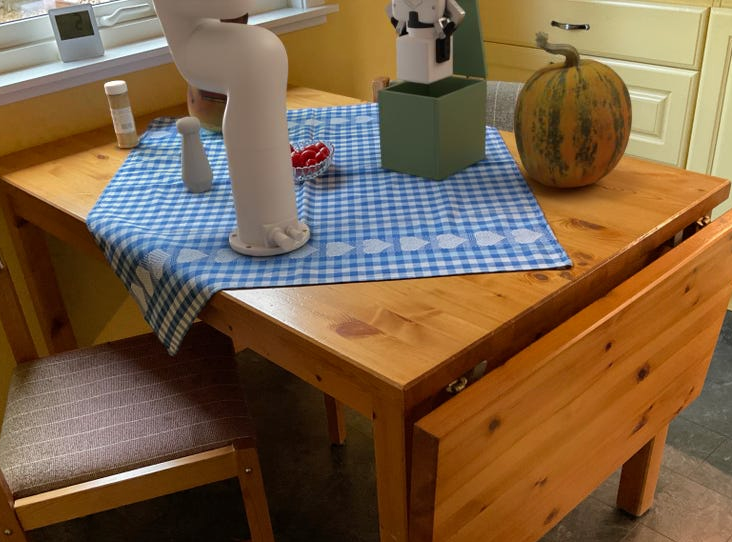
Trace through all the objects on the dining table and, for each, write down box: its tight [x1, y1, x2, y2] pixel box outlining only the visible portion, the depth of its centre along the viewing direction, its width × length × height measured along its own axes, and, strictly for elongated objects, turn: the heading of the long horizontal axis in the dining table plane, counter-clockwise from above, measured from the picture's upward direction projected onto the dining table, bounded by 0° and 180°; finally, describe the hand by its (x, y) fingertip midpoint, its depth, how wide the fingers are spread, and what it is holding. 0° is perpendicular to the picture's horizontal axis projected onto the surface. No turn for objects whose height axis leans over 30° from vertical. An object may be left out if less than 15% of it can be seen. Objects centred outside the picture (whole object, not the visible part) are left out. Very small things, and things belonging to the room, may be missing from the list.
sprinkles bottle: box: [103, 80, 140, 149], centre depth 170 cm, size 5×5×13 cm
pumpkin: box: [513, 30, 633, 189], centre depth 131 cm, size 19×19×25 cm
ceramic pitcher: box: [186, 11, 249, 133], centre depth 173 cm, size 20×20×30 cm
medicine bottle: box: [395, 11, 453, 84], centre depth 137 cm, size 7×7×12 cm
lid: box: [442, 0, 489, 80], centre depth 143 cm, size 15×14×6 cm
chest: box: [376, 75, 488, 182], centre depth 147 cm, size 15×14×14 cm
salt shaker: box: [175, 116, 214, 194], centre depth 144 cm, size 6×6×13 cm
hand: (424, 58), depth 139 cm, fingers closed on medicine bottle, 7 cm apart
